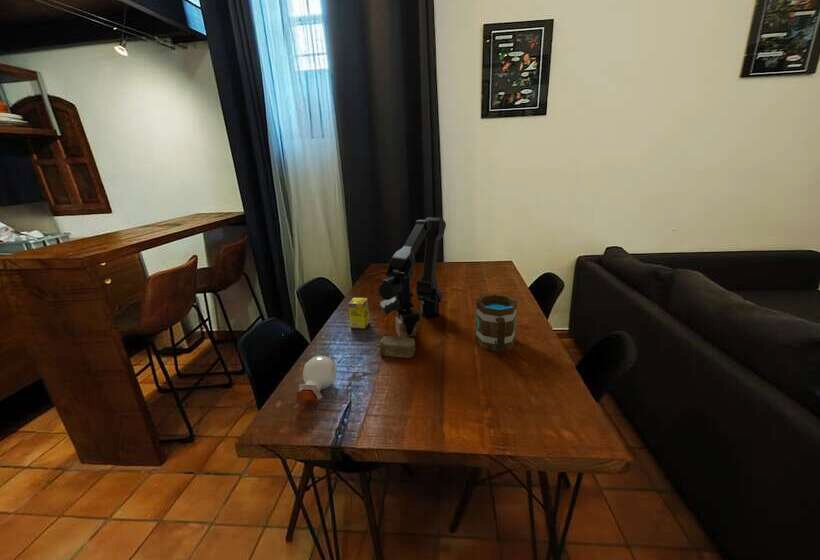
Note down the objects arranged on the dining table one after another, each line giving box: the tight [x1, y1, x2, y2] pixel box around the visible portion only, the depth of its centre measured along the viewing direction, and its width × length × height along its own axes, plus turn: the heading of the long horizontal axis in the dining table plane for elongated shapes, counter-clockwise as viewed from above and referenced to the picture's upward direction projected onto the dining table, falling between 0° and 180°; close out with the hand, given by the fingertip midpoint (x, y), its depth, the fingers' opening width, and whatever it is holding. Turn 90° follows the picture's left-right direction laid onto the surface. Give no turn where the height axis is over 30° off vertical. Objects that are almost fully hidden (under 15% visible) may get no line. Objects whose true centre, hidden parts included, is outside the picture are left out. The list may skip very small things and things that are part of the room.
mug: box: [474, 293, 518, 353], centre depth 113 cm, size 20×14×15 cm
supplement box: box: [347, 297, 371, 331], centre depth 133 cm, size 6×6×11 cm
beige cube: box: [394, 315, 417, 338], centre depth 126 cm, size 6×6×6 cm
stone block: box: [379, 335, 416, 359], centre depth 114 cm, size 6×12×5 cm, turn 78°
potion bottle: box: [295, 355, 338, 410], centre depth 96 cm, size 9×10×15 cm
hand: (405, 329), depth 127 cm, fingers open, 9 cm apart
